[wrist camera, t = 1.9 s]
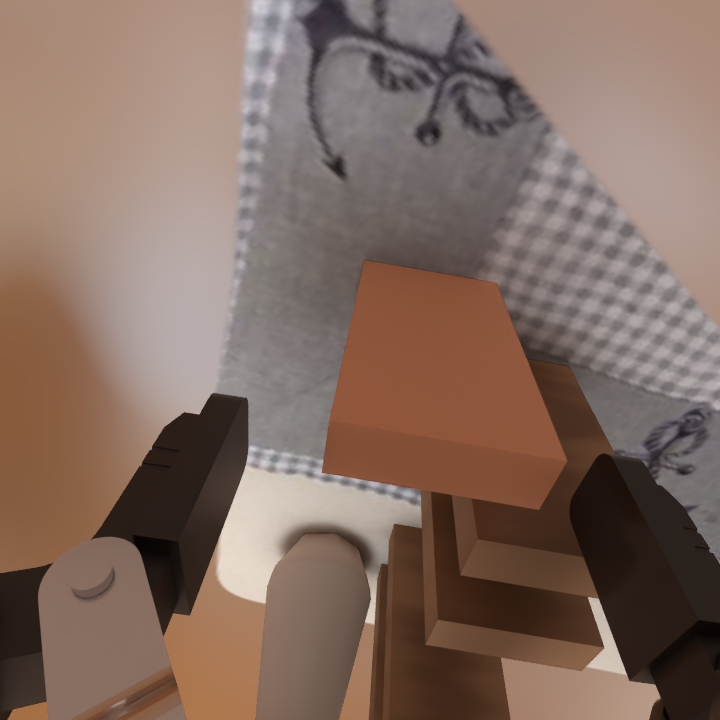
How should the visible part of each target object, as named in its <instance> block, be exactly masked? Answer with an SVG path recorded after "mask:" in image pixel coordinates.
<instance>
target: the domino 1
mask: <svg viewBox="0 0 720 720" xmlns="http://www.w3.org/2000/svg"><path fill="white" fill-rule="evenodd" d="M387 583H388V565H383V564H382V565H381V569H380V572H379V575H378V578H377V594H376V611H375V628H374V644H373V661H372V678H371V694H370V710H369V720H383V693H384V665H385V638H386V611H387Z"/></svg>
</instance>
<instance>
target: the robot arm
mask: <svg viewBox="0 0 720 720" xmlns="http://www.w3.org/2000/svg"><path fill="white" fill-rule="evenodd" d="M247 455H248V400H247V398H243V397H237V396H230V395H224V394H217V393H213V394H211V396H210V397H209V399H208V400H207V402H206V404H205V406H204V408H203V409H202V411H201V413H200V415H197V414H192V413H185V412H184V413H183V414H181V416H179V417H177V418H176V419H175V420H173V421H172V422H171V423H170V424H168V425H167V426H165V427H164V429H163V430H162V432H161V433H160V435H159V436H158V438H157V440H156V441H155V443H154V444H153V446H152V450H150V451H149V452H148V454H147V455H146V457H145V459H144V460H143V462H142V466H139V468H138V470H137V471H136V473H135V474H134V476H133V477H132V479H131V480H130V482H129V484H128V485H127V487H126V488H125V490H124V491H123V493H122V495H121V496H120V498H119V500H118V501H117V502H116V504H115V506H114V507H113V509H112V510H111V512H110V514H109V515H108V517H107V518H106V520H105V521H104V523H103V525H102V526H101V528H100V529H99V530H98V532H97V533H96V534H95V535H94V537H93V538H92V539H91V540H89V541H85V542H83V543H81V544H79V545H77V546H75V547H73V548H71V549H70V550H68V551H67V552H66V553H64V554H63V555H61V557H59V558H58V559H57V560H56V561H55V562H54V563H52V564H48V565H46V566H41V567H36V568H31V569H25V570H18V571H12V572H6V573H0V720H7V719H8V717H9V716H10V714H11V712H12V710H13V709H17V708H21V707H25V706H29V705H34V704H38V703H42V702H46V701H47V710H48V720H187V718H186V715H185V711H184V708H183V704H182V700H181V697H180V694H179V690H178V686H177V683H176V680H175V677H174V674H173V670H172V667H171V663H170V659H169V656H168V652H167V649H166V645H165V641H164V638H163V636H164V634H165V632H166V629H167V627H168V624H169V622H170V619H171V617H172V614H173V613H176V614H183V615H190V614H191V611H192V608H193V606H194V603H195V600H196V598H197V595H198V592H199V590H200V587H201V584H202V582H203V579H204V576H205V574H206V571H207V568H208V566H209V563H210V560H211V558H212V555H213V552H214V550H215V547H216V544H217V542H218V539H219V536H220V534H221V531H222V528H223V526H224V523H225V520H226V518H227V515H228V512H229V510H230V507H231V504H232V502H233V499H234V496H235V494H236V491H237V489H238V486H239V483H240V481H241V478H242V475H243V472H244V469H245V465H246V461H247ZM569 514H570V521H571V524H572V527H573V530H574V533H575V535H576V538H577V541H578V543H579V546H580V549H581V552H582V554H583V557H584V560H585V562H586V565H587V568H588V570H589V573H590V576H591V579H592V581H593V584H594V587H595V589H596V592H597V595H598V597H599V600H600V603H601V605H602V608H603V611H604V614H605V616H606V619H607V622H608V624H609V627H610V630H611V632H612V635H613V638H614V641H615V643H616V646H617V649H618V651H619V654H620V657H621V659H622V662H623V665H624V667H625V670H626V673H627V676H628V678H629V681H635V682H641V683H648V684H655V685H656V687H657V689H658V692H659V694H660V698H658V699H657V700H656V701H655V703H654V705H653V707H652V711H651V715H650V719H649V720H720V564H719V562H718V561H717V559H716V557H715V556H714V554H713V553H710V552H709V549H710V548H709V546H708V545H707V543H706V542H705V540H704V539H703V537H702V535H701V534H698V533H697V528H696V526H695V524H694V523H693V521H692V520H691V518H690V517H689V515H688V513H687V512H686V510H685V509H684V507H683V506H682V505H681V504H680V503H679V502H678V501H677V500H676V499H675V498H674V497H673V496H672V495H671V494H670V493H669V492H668V491H667V490H666V489H665V488H663V487H662V486H660V485H657V484H656V482H655V480H654V479H653V477H652V475H651V474H650V472H649V470H648V469H647V467H646V465H645V464H644V463H643V462H642V461H641V460H639V459H637V458H631V457H624V456H618V455H611V454H600V455H599V456H598V457H597V458H596V459H595V461H594V462H593V464H592V465H591V467H590V469H589V470H588V472H587V473H586V475H585V477H584V478H583V480H582V481H581V483H580V485H579V486H578V488H577V490H576V491H575V493H574V494H573V496H572V499H571V502H570V509H569Z"/></svg>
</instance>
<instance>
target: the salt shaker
mask: <svg viewBox="0 0 720 720" xmlns="http://www.w3.org/2000/svg"><path fill="white" fill-rule="evenodd" d="M370 600H371V596H370V587H369V583H368V579H367V576H366V572H365V569H364V566H363V563H362V560H361V557H360V554H359V551H358V548H357V547H356V546H354V545H353V544H351V543H349V542H348V541H346V540H345V539H343V538H342V537H340V536H338V535H337V534H335V533H316V534H304V535H303V536H302V537H301V538H300V540H299V541H298V542H297V543H296V544H295V545H294V546H293V547H292V548H291V549H290V550H289V552H288V553H287V554H286V555H285V556H284V557H283V558H282V559H281V560H280V561H279V562H278V563H277V565H276V566H275V568H274V570H273V573H272V575H271V578H270V580H269V583H268V586H267V595H266V606H265V618H264V628H263V641H262V651H261V662H260V673H259V684H258V695H257V707H256V718H255V720H339V718H340V714H341V710H342V706H343V702H344V699H345V695H346V691H347V687H348V683H349V680H350V676H351V672H352V668H353V665H354V661H355V657H356V653H357V649H358V646H359V642H360V638H361V634H362V631H363V627H364V623H365V619H366V615H367V612H368V608H369V604H370Z"/></svg>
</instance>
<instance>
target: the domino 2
mask: <svg viewBox="0 0 720 720" xmlns="http://www.w3.org/2000/svg"><path fill="white" fill-rule="evenodd" d="M566 463H567V459H566V456H565V454H564V451H563V449H562V446H561V444H560V441H559V439H558V436H557V434H556V431H555V429H554V426H553V424H552V421H551V419H550V416H549V414H548V411H547V409H546V406H545V404H544V401H543V399H542V396H541V394H540V391H539V389H538V386H537V384H536V381H535V379H534V376H533V374H532V371H531V368H530V366H529V363H528V361H527V358H526V356H525V353H524V351H523V348H522V346H521V343H520V341H519V338H518V336H517V333H516V331H515V328H514V326H513V323H512V321H511V318H510V316H509V313H508V311H507V308H506V306H505V303H504V301H503V298H502V296H501V293H500V291H499V288H498V286H497V283H493V282H487V281H481V280H476V279H470V278H464V277H459V276H453V275H447V274H441V273H436V272H430V271H424V270H419V269H413V268H407V267H402V266H396V265H390V264H384V263H379V262H373V261H367V260H365V261H364V265H363V270H362V274H361V279H360V284H359V288H358V293H357V297H356V302H355V306H354V311H353V315H352V320H351V325H350V329H349V334H348V338H347V343H346V347H345V352H344V356H343V361H342V366H341V370H340V375H339V379H338V384H337V388H336V393H335V397H334V402H333V407H332V411H331V416H330V420H329V427H328V434H327V441H326V448H325V455H324V461H323V468H322V473H327V474H333V475H339V476H345V477H351V478H356V479H362V480H368V481H374V482H380V483H386V484H391V485H397V486H403V487H409V488H415V489H421V490H426V491H432V492H438V493H444V494H450V495H456V496H461V497H467V498H473V499H479V500H485V501H490V502H496V503H502V504H508V505H514V506H520V507H525V508H531V509H537V510H539V509H540V507H541V505H542V504H543V502H544V500H545V499H546V497H547V495H548V494H549V492H550V490H551V488H552V487H553V485H554V483H555V482H556V480H557V478H558V477H559V475H560V473H561V471H562V470H563V468H564V466H565V465H566Z"/></svg>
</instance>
